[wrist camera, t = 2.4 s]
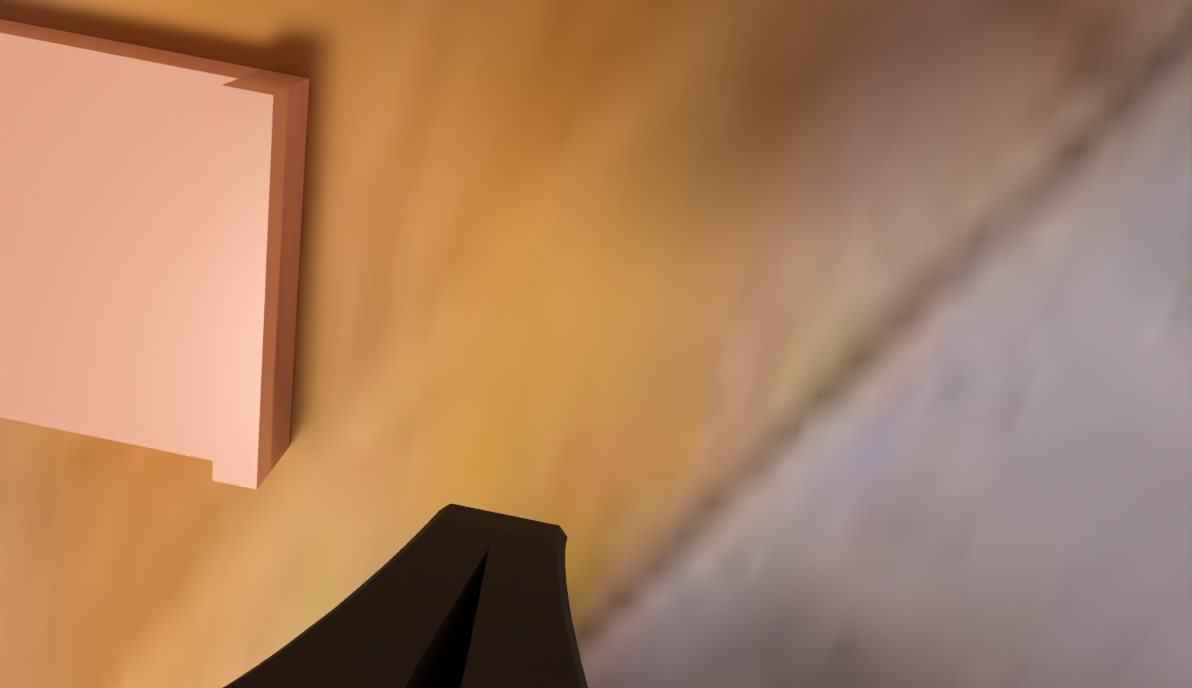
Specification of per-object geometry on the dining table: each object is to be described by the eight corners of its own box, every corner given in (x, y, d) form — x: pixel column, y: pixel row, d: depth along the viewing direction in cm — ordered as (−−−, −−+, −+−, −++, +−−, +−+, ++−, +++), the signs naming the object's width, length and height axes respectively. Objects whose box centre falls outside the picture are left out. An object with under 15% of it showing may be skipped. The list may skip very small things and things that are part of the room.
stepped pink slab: (315, 75, 18) (273, 94, 16) (294, 440, 20) (256, 489, 19) (-207, -25, 18) (-302, -16, 16) (-157, 349, 21) (-233, 389, 19)
